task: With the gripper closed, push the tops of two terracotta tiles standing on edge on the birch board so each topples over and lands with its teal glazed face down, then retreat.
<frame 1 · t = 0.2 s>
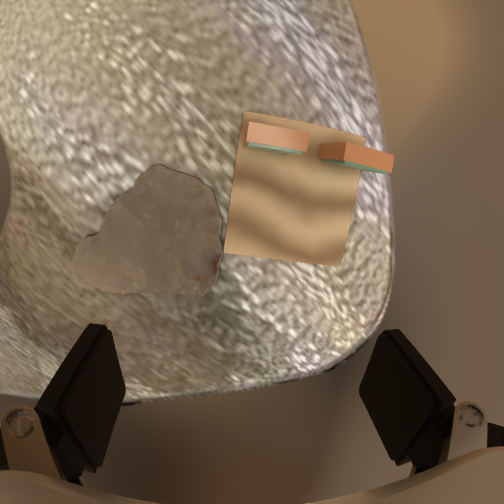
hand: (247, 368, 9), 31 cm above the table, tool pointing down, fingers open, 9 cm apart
stone tool: (141, 242, 39), on the table
tile 2: (339, 156, 36), point 1 cm above the table, touching board
tile 1: (266, 141, 34), point 1 cm above the table, touching board
board: (295, 191, 38), on the table
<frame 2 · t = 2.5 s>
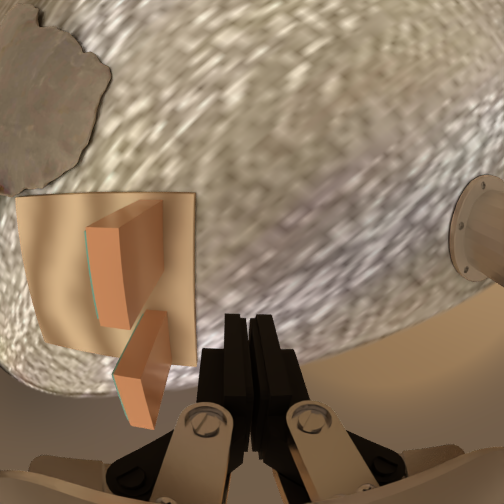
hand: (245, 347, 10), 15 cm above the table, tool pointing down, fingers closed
stone tool: (27, 82, 18), on the table
tile 2: (159, 336, 26), point 1 cm above the table, touching board
tile 1: (151, 235, 22), point 1 cm above the table, touching board
board: (100, 281, 25), on the table
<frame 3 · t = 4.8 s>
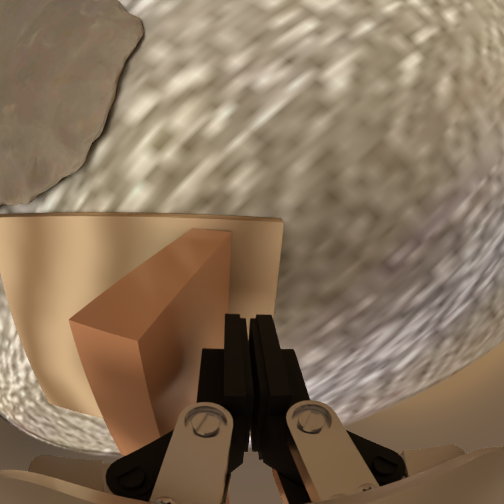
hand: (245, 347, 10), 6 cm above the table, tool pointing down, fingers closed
stone tool: (13, 50, 10), on the table
tile 1: (210, 286, 15), point 1 cm above the table, tilted 12°, touching board
board: (124, 339, 17), on the table
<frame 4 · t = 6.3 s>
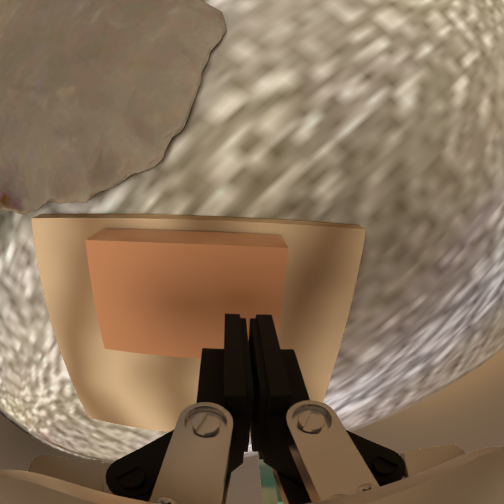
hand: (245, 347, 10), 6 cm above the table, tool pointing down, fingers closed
stone tool: (56, 30, 10), on the table
tile 2: (275, 409, 18), point 1 cm above the table, touching board
tile 1: (277, 299, 14), point 2 cm above the table, tilted 90°, touching board
board: (189, 348, 17), on the table
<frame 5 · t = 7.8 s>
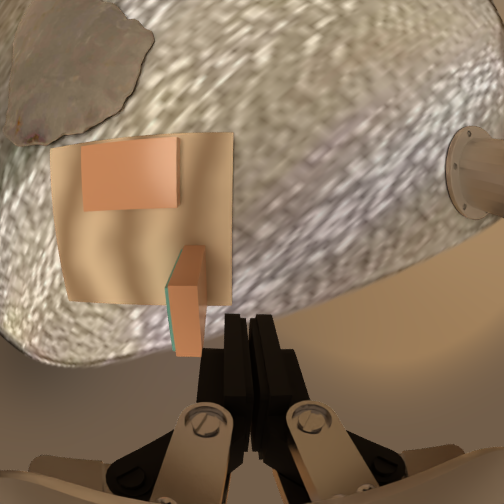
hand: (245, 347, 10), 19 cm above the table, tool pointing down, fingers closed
stone tool: (64, 46, 20), on the table
tile 2: (196, 274, 28), point 1 cm above the table, touching board
tile 1: (178, 171, 23), point 2 cm above the table, tilted 90°, touching board
board: (136, 223, 27), on the table
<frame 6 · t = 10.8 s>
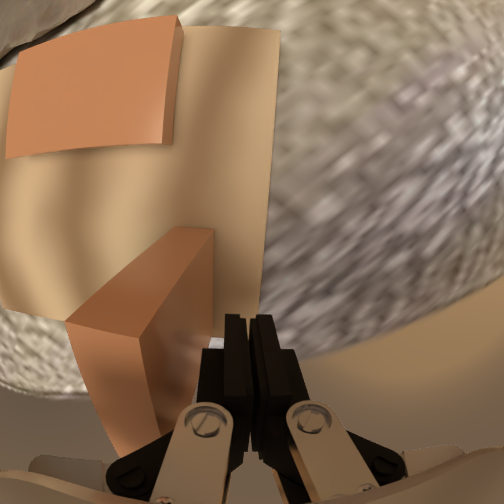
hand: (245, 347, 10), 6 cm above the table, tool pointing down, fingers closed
tile 2: (194, 283, 15), point 1 cm above the table, tilted 7°, touching board
tile 1: (172, 79, 10), point 2 cm above the table, tilted 90°, touching board
board: (94, 184, 14), on the table
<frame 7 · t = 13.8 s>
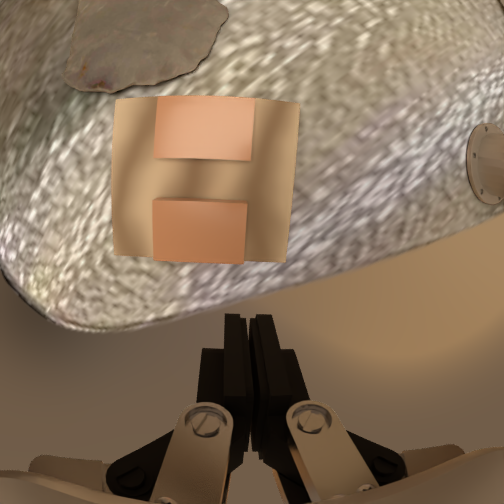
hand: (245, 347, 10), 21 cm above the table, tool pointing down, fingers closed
stone tool: (134, 8, 21), on the table
tile 2: (244, 232, 28), point 2 cm above the table, tilted 90°, touching board
tile 1: (252, 130, 25), point 2 cm above the table, tilted 90°, touching board
board: (200, 177, 28), on the table
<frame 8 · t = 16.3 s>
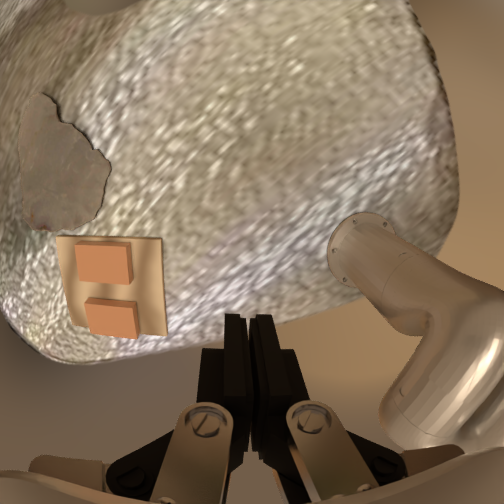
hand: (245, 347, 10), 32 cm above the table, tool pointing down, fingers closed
stone tool: (55, 157, 36), on the table
tile 2: (136, 321, 43), point 2 cm above the table, tilted 90°, touching board
tile 1: (129, 264, 40), point 2 cm above the table, tilted 90°, touching board
board: (110, 285, 43), on the table
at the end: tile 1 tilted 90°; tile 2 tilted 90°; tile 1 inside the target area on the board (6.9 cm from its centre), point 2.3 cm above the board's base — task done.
